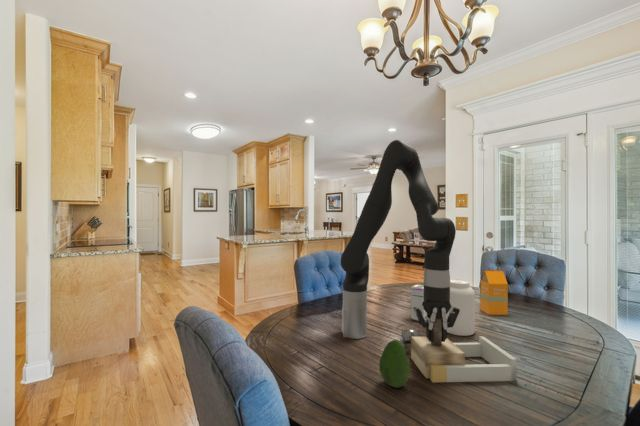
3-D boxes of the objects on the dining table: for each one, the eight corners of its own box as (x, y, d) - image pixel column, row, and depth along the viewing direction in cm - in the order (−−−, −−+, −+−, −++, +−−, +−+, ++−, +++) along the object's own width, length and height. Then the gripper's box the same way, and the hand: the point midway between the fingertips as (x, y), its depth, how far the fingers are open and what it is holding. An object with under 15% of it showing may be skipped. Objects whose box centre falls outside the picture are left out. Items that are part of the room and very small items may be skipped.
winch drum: (403, 352, 102) (404, 331, 102) (400, 347, 106) (400, 327, 106) (421, 352, 102) (421, 331, 102) (417, 347, 106) (417, 327, 106)
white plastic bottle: (479, 338, 115) (479, 284, 115) (443, 335, 117) (444, 283, 117) (469, 326, 127) (470, 278, 127) (438, 323, 130) (438, 276, 130)
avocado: (404, 377, 87) (404, 334, 87) (413, 393, 79) (413, 347, 79) (376, 377, 86) (376, 335, 86) (382, 394, 78) (383, 347, 78)
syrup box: (424, 321, 132) (424, 288, 132) (410, 319, 135) (411, 286, 135) (428, 318, 136) (428, 285, 136) (415, 315, 140) (415, 283, 140)
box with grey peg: (425, 378, 86) (426, 325, 86) (410, 358, 98) (411, 311, 98) (464, 378, 86) (465, 325, 86) (445, 357, 99) (445, 311, 99)
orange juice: (507, 315, 142) (508, 272, 142) (488, 314, 142) (488, 271, 142) (498, 309, 150) (498, 269, 150) (480, 309, 150) (480, 268, 150)
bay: (432, 382, 84) (432, 360, 84) (411, 355, 100) (412, 337, 100) (516, 380, 85) (516, 359, 85) (483, 354, 101) (483, 336, 101)
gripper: (453, 280, 96) (452, 335, 96) (409, 281, 96) (409, 336, 96) (465, 286, 89) (465, 345, 89) (418, 286, 88) (418, 346, 88)
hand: (436, 340), depth 92 cm, fingers closed on box with grey peg, 3 cm apart
